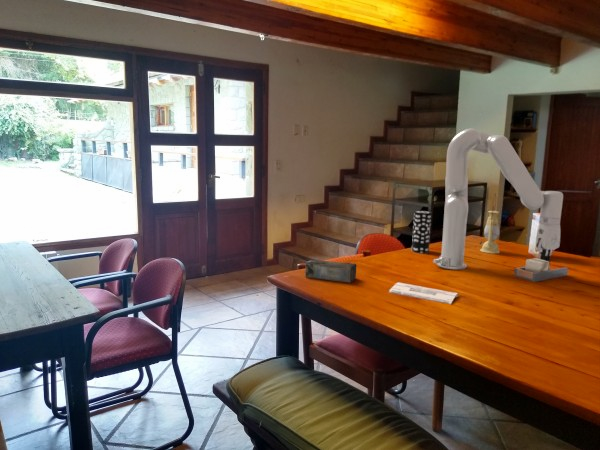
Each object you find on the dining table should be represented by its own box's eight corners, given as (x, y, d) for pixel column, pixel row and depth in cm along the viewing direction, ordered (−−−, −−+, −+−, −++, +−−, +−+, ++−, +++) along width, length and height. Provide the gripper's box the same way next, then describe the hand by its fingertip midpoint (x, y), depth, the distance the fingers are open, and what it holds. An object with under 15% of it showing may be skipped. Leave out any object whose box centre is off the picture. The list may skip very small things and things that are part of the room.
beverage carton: (311, 272, 188) (312, 257, 186) (356, 278, 181) (357, 262, 179) (304, 277, 180) (305, 261, 179) (351, 284, 173) (352, 267, 172)
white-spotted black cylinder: (427, 249, 233) (429, 211, 230) (430, 253, 225) (432, 213, 222) (410, 249, 234) (413, 210, 231) (412, 252, 226) (415, 212, 223)
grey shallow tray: (534, 281, 180) (535, 273, 180) (514, 276, 188) (514, 268, 188) (567, 275, 191) (568, 267, 190) (546, 270, 199) (547, 262, 198)
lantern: (480, 248, 240) (485, 191, 235) (500, 250, 235) (506, 192, 230) (477, 252, 230) (482, 193, 225) (498, 255, 225) (504, 194, 220)
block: (538, 277, 184) (539, 262, 183) (524, 273, 189) (526, 259, 188) (547, 275, 187) (549, 261, 186) (533, 271, 192) (535, 258, 191)
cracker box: (551, 260, 217) (556, 217, 213) (537, 259, 218) (542, 216, 214) (540, 253, 230) (545, 212, 227) (527, 253, 231) (532, 212, 228)
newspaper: (458, 296, 163) (459, 289, 162) (450, 309, 153) (451, 302, 152) (397, 284, 174) (397, 278, 174) (386, 296, 164) (386, 290, 164)
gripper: (547, 223, 180) (541, 268, 183) (569, 221, 187) (563, 264, 190) (529, 220, 186) (524, 264, 189) (551, 218, 193) (546, 260, 196)
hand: (544, 264), depth 190 cm, fingers closed
